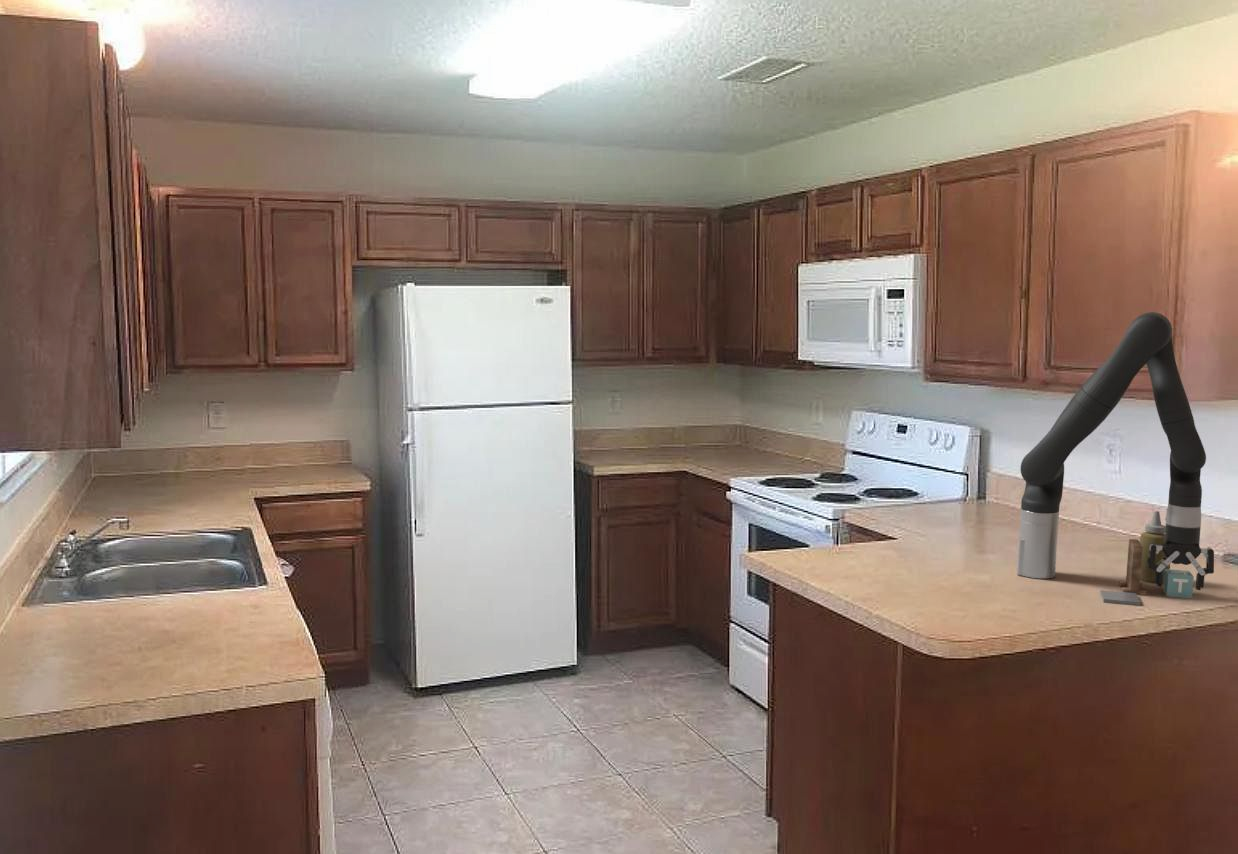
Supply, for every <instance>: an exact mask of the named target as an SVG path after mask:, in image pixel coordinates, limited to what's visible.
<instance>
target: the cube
mask: <svg viewBox="0 0 1238 854" xmlns="http://www.w3.org/2000/svg"><path fill="white" fill-rule="evenodd" d="M1194 578H1195V577H1194V575H1193V573H1191V571H1190V570H1180V569H1171V568H1170V569H1164V581H1163V582H1162V585H1163V586H1162V591H1163V592H1164V595H1165V596H1166V597H1172V598H1183V599H1193V591H1194V589H1193V588H1194Z"/></svg>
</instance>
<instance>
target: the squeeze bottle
mask: <svg viewBox="0 0 1238 854" xmlns="http://www.w3.org/2000/svg"><path fill="white" fill-rule="evenodd" d="M1165 527H1166V525H1164V524H1162V521H1161V514H1160V511H1158V510H1154V511H1153V514H1152V517H1151V520H1150V522H1149V523H1146V524H1145V528H1144V531H1143V532H1141V534H1140V535H1139V536H1140V537H1139V540H1138V541H1139V542H1140V544H1141V545H1142V547H1143V549H1142V562H1141V576H1140V581H1141V580H1142V581H1145V582H1148V583H1155V581H1154V578H1155V570H1153V569H1150V568H1149V567H1148V565H1147V561H1148V553H1149V546H1150V544H1151V543H1154V544H1155V545H1161V546H1162V545H1163V544H1164V541H1165ZM1164 556H1165V553H1164V552H1163V551H1162V550H1160V551H1159V553H1158V554H1156V555H1155V563H1154V564H1156V565H1157V564H1158V563H1159V562H1160V561H1161V559H1162V558H1163V557H1164ZM1164 569H1171V563H1170V564H1169V565H1168V566H1166V567H1165V568H1164ZM1164 569H1163V570H1162V583H1163V582H1164Z"/></svg>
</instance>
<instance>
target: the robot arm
mask: <svg viewBox="0 0 1238 854" xmlns="http://www.w3.org/2000/svg"><path fill="white" fill-rule="evenodd" d="M1172 326H1173V325H1172V324H1171V322H1170V320H1169V319H1168V318H1167V317H1166V316H1165V315H1163V314H1161V313H1158V312H1154V311H1153V312H1151V311H1150V312H1145V313H1141V314H1140V315H1139V316H1137V317H1136V318H1135V319H1134V320H1132V322H1131V323H1130V324H1129V326H1128V328H1127V330H1126V332H1125V334H1124V335H1123V337H1122V338H1121V340H1120V341H1119V343H1118V344H1117V346H1116V347H1115V349H1114V351H1113V352H1112V354H1110V356H1108V358H1107V359H1105V362H1103V363H1102V364H1101V365H1100V366H1099V367H1098V368H1097V369H1096V370H1095V371H1094V372H1093V373H1092V374H1091V375H1090V376H1089V377H1088V378H1087V379H1086V381H1085V382H1084V383H1083V384H1082V385H1081V386H1080V388H1079V389H1078V390H1077V392H1076V393H1075V394H1074V395H1073V397H1071V399H1070V401H1069V402H1068V403H1067V405H1065V407H1064V409H1063V411H1062V412H1061V413H1060V414H1059V416H1058V417H1057V419H1056V421H1055V423H1054V424H1053V426H1052V427H1051V429H1050V430H1048V432H1047V433H1046V434H1045V436H1044V437H1042V439H1041V440H1040V441H1039V442H1038V443H1037V444H1036V445H1035V446H1034V447H1033V448H1032V449H1031V450H1030V451H1029V452H1027V454H1026V455H1024V457H1023V459H1022V460H1021V463H1020V474H1021V477H1022V479H1023V480H1024V481H1025V489H1024V492H1023V496H1021V497H1022V498H1021V502H1020V503H1021V504H1020V521H1019V522H1020V523H1019V535H1018V543H1017V544H1018V545H1017V560H1016V561H1017V562H1016V573H1017V576H1023V577H1027V578H1031V579H1032V578H1033V579H1052V578H1054V577H1056V568H1057V567H1056V565H1057V563H1056V562H1057V551H1058V549H1057V548H1058V537H1059V536H1058V534H1059V519H1060V505H1061V501H1062V498H1063V491H1064V490H1063V488H1064V480H1065V479H1064V478H1065V462H1066V461H1067V459H1068V457H1069V456H1070V454H1072V452H1073V451H1074V449H1076V448H1077V446H1079V445H1080V444H1081V443H1082V442H1083V441H1084V440H1085V439H1086V438H1088V436H1091V434H1092V433H1093V432H1094V431H1096V430H1097V428H1098V427H1100V425H1101V424H1102V423H1103V422H1104V421H1105V420H1106V419H1107V417H1108V416H1109V415H1110V414H1111V412H1112V411H1113V410H1114V409H1115V408H1116V406H1117V405H1118V404H1119V402H1120V401H1121V399H1122V398H1123V397H1124V395H1125V393H1126V392H1127V390H1128V388H1129V387H1130V385H1131V384H1132V382H1133V380H1134V378H1135V377H1136V376H1137V375H1138V373H1140V371H1141V369H1142V368H1143V367H1145V366H1146V367H1147V370H1148V374H1149V378H1150V382H1151V389H1152V393H1153V398H1154V399H1153V400H1154V404H1155V407H1156V410H1157V415H1158V417H1159V421H1160V423H1161V427H1162V429H1163V432H1164V433H1165V435H1166V437H1167V440H1168V441H1167V442H1168V444H1169V447H1170V454H1169V477H1170V478H1169V479H1170V482H1169V483H1170V484H1169V491H1168V503H1167V507H1166V508H1167V509H1166V514H1165V518H1164V519H1165V526H1166V527H1165V533H1164V534H1165V541H1164V544H1163V545H1162V546H1161V545H1155V544H1154V543H1151V544H1150V546H1149V553H1148V561H1147V565H1148V567H1149V568H1150V569H1153V570H1155V578H1154V581H1155V582H1154V584H1156V586H1157V587H1159V588H1161V587H1163V586H1162V585H1163V582H1162V570H1163V569H1164V568H1165V567H1166V566H1168V565H1169V564H1170V565H1171V563H1172V564H1174V565H1181V564H1182V565H1186V566H1188V565H1190V564H1192V565H1193V567H1194V568H1195V570H1196V571H1197V572H1196V576H1195V577H1196V579H1195V590H1197V591H1201V589H1203V588H1204V585H1205V584H1204V583H1205V576H1207V575H1209V574H1214V573H1215V551H1214V550H1213V548H1211V547H1209V546H1208V547H1207V548H1201V547H1200V543H1201V542H1200V541H1201V529H1202V526H1201V525H1202V496H1203V488H1202V485H1201V471H1202V468H1203V467H1204V466H1205V465H1206V462H1207V454H1206V450H1205V447H1204V444H1203V442H1202V439H1201V437H1200V435H1199V432H1198V430H1197V428H1196V425H1195V419H1194V416H1193V412H1192V409H1191V406H1190V402H1189V400H1188V397H1187V394H1186V390H1185V388H1184V385H1183V382H1182V379H1181V376H1180V373H1179V369H1178V366H1177V361H1176V357H1175V352H1174V343H1173V328H1172ZM1160 550H1162V551H1163V552H1164V553H1165V556H1164V557H1163V558H1162V559H1161V561H1160V562H1159V563H1158V564H1157V565H1156V564H1154V563H1155V555H1156V554H1158V553H1159V551H1160ZM1201 554H1202V556H1203V557H1204V558H1205V559H1206V561H1205V562H1206V564H1205V565H1206V566H1205V567H1204V568H1202V566H1201V564H1200V563H1199V562H1198V561H1197V558H1198V557H1200V555H1201Z"/></svg>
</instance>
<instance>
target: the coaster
mask: <svg viewBox="0 0 1238 854" xmlns="http://www.w3.org/2000/svg"><path fill="white" fill-rule="evenodd" d="M1099 594H1100V597H1101V600H1102V603H1108V604H1118V605H1119V604H1121V605H1130V606H1138V607H1139V606H1141V605H1142V604H1141V603H1142V602H1141V600H1140V598H1139V597H1138V596H1139V595H1137V594H1136V593H1127V592H1122V591H1114V590H1104V589H1100V590H1099Z"/></svg>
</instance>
